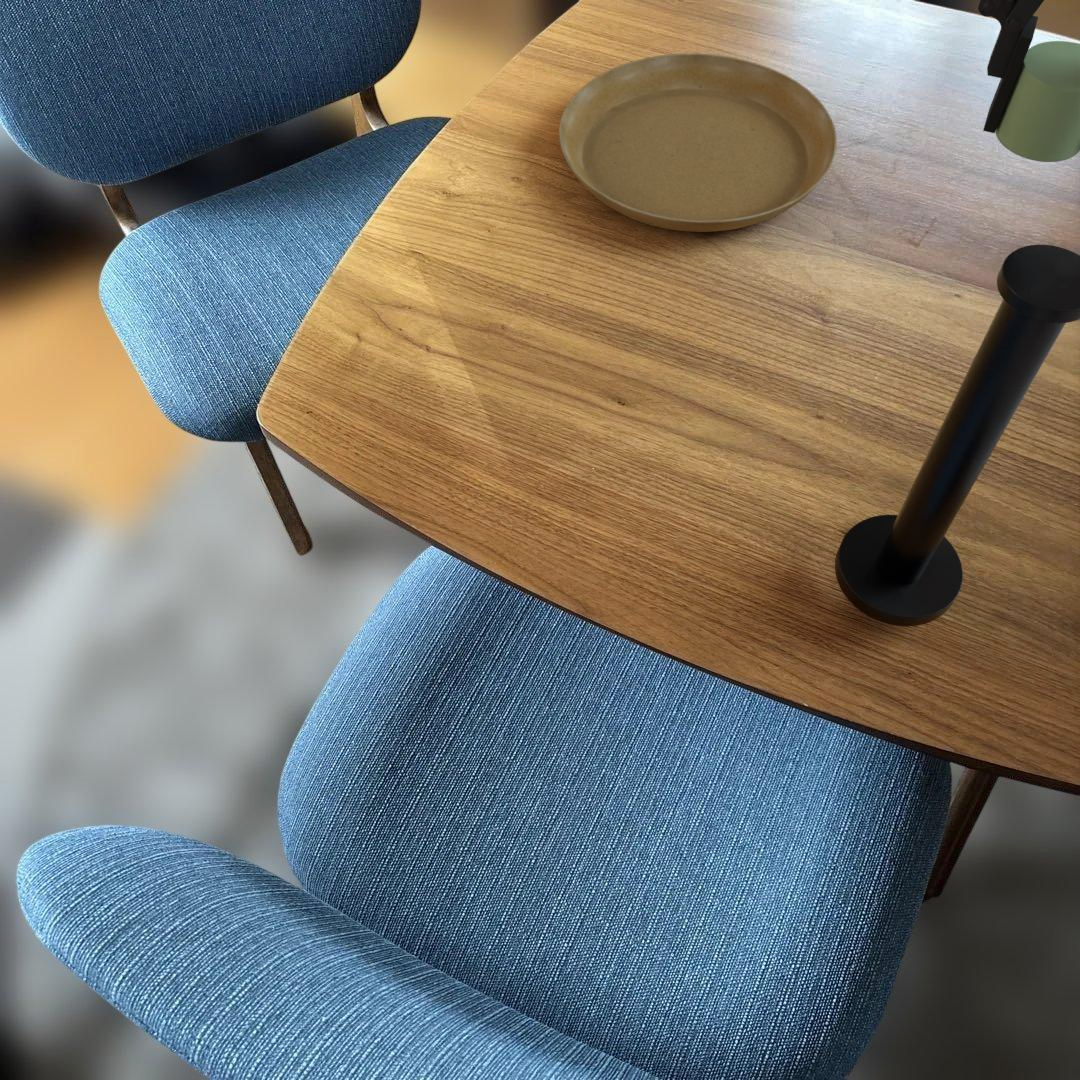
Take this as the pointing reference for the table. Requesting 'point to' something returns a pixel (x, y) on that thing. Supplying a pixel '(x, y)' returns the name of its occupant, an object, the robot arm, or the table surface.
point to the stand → (961, 448)
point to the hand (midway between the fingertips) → (1040, 130)
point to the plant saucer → (697, 141)
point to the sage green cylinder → (1044, 105)
